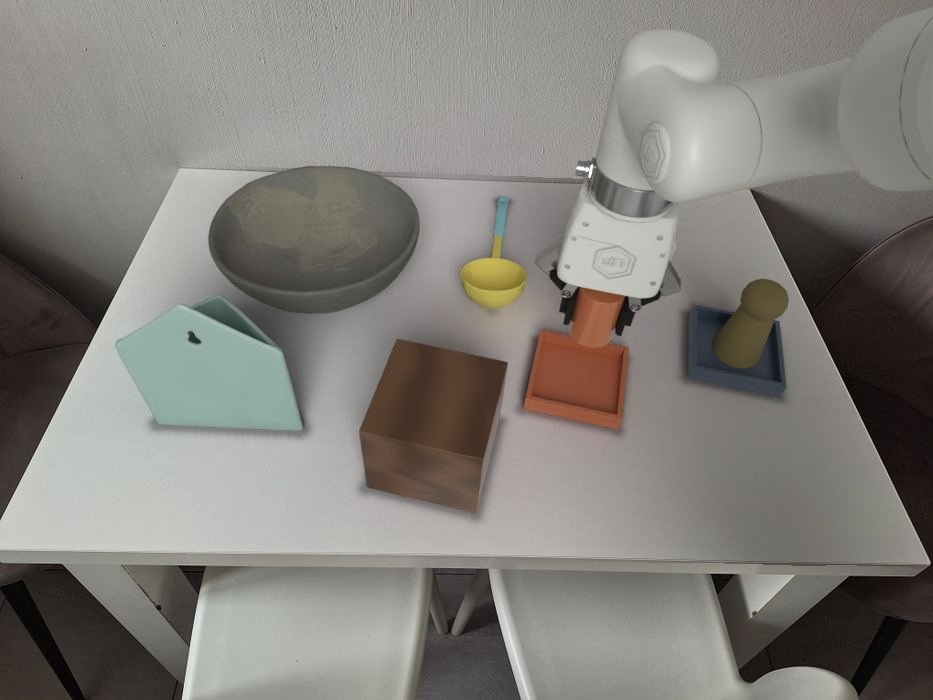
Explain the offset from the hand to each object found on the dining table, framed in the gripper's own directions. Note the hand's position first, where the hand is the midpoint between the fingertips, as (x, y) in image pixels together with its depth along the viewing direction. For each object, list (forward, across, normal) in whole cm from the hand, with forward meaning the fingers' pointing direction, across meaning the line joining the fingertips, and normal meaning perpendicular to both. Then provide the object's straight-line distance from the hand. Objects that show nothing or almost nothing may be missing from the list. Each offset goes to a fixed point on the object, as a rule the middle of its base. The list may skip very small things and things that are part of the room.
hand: (593, 320), depth 71 cm
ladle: (+12, -14, +20) cm, 27 cm away
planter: (+11, -38, -13) cm, 42 cm away
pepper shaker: (+11, +19, +10) cm, 24 cm away
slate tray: (+11, +19, +10) cm, 24 cm away
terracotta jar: (+2, 0, 0) cm, 2 cm away
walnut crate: (+11, -14, -14) cm, 23 cm away
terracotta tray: (+11, 0, 0) cm, 11 cm away
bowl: (+12, -36, +9) cm, 39 cm away
